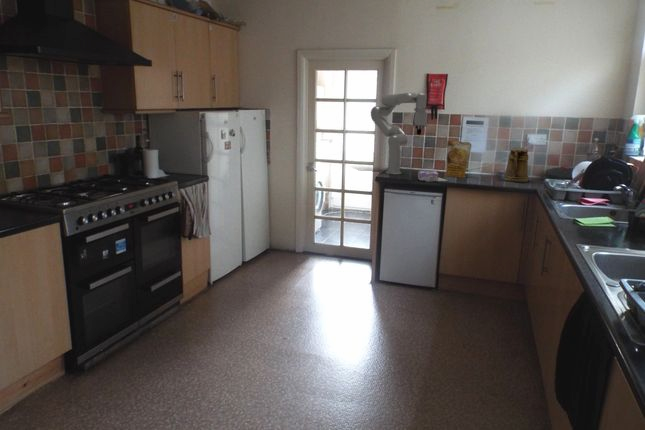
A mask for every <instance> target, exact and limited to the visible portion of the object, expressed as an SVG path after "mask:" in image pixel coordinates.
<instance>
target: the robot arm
mask: <svg viewBox="0 0 645 430" xmlns="http://www.w3.org/2000/svg"><path fill="white" fill-rule="evenodd" d="M427 95H428V94H427V93H420V92H419V93H416V92H404V93H394V94H387V95H384V96H382V98H381V103H382V105H375V106H373V107H372V108H371V110H370V117H371V120H372V121H373V123H374V124H375V125H376V126H377V127H378V129H379V130H380V131H381V133H382V134H383V135H384V137H388V140H387V141H388V142H387V143H388V158H387V159H388V160H387V161H388V162H387V170H386V171H385V174H387V175H401V174H402V171H400V170H401V169H400V168H401V154H402V152H401V151H402V149H401V146H402V147H403V146H405V145H407V143H408V142H409V139H408V136H407V134H406V133H405V132H404V131H403V129H402V128H401V127H400V126H399V125H396V124H390V123H389V122H388V121H387V120H386V118H384V117H388V116H389V115H391V113H392V112H393V110H394V109H395V108H396V107H397V106H400V105H401V104H415V108H413V110H414V114H413V118H412V127H413V128H415V129H416V134H417V136H421V134H422V129H424V128H426V127H427V124H428V114H427V111H426V110H427V109H426V108H427Z"/></svg>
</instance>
